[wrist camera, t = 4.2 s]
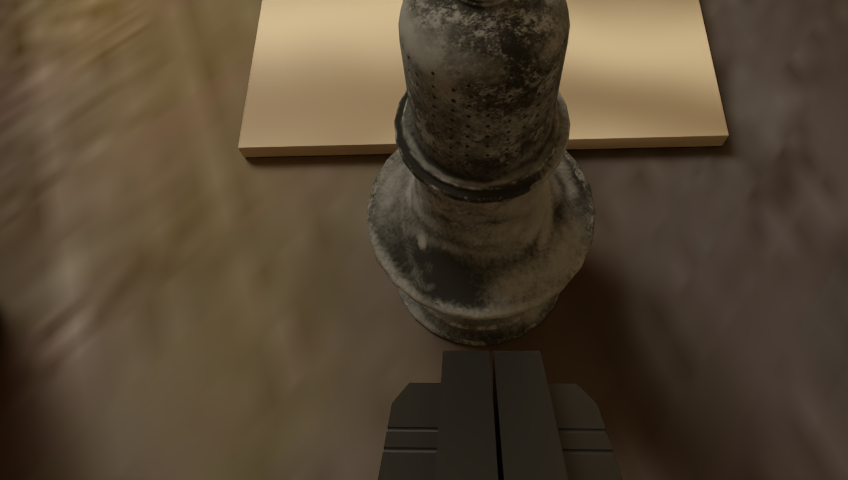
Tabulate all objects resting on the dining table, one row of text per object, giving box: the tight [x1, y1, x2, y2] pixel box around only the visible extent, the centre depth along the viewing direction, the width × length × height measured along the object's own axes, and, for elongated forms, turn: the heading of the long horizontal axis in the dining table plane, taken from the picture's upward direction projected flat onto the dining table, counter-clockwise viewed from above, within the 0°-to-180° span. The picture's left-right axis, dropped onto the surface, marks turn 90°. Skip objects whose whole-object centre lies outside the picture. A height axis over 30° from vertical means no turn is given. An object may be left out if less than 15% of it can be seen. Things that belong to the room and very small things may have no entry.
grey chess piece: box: [367, 0, 596, 346], centre depth 14 cm, size 6×6×12 cm
